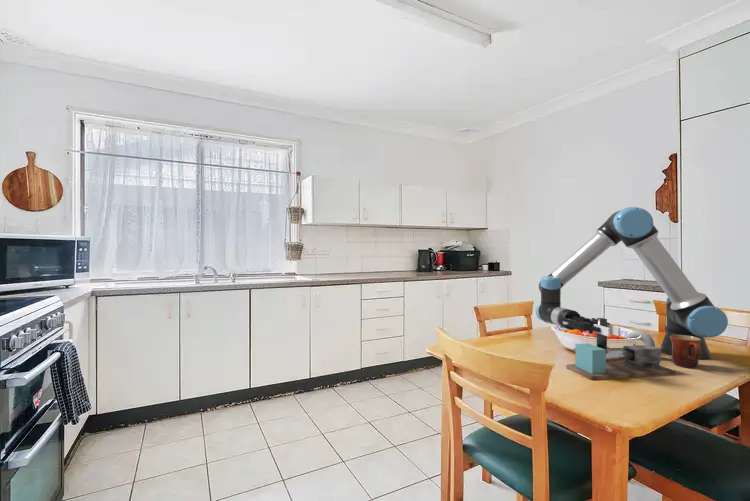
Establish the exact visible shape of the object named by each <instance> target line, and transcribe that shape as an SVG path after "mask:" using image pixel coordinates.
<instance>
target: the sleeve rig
mask: <svg viewBox="0 0 750 501" xmlns="http://www.w3.org/2000/svg"><path fill="white" fill-rule="evenodd" d="M626 350H633V351H634V359H627V360H620V361H610V362H609V361H606V373H598V374H592V373H589V372H587V371H585V370H583V369H581V368H578V367H576V366H575V363H573V364H566V365H565V366H566V367H565V368H566V369H567V370H570V371H572V372H574V373H576V374H578V375H580V376H583V377H584V378H586V379H588V380H590V379H591V381H596V380H597V379H598V380H612V379H613V378H614V379H626V378H628V379H629V378H642V377H643V378H644V377H654V376H655V377H657V376H673V375H676V374H677V373H676V370H674V369H672V368H671V369H670V368H668V367H665V366H663V365H660V363H661V361H662V360H661V359H662V358H661V353H662V351H661V347H657V346H655V347H654V346H650V345H644V344H638V345H636V346H625V345H624V346H623V351H626ZM611 378H612V379H611Z"/></svg>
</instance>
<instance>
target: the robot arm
mask: <svg viewBox="0 0 750 501" xmlns="http://www.w3.org/2000/svg"><path fill="white" fill-rule="evenodd" d="M658 235H659V230H658V229H657V228H656V226H655V225H654V218H653V216H652V214H651V213H650V212H649V211H648V210H646V209H644V208H641V207H638V206H637V207H636V206H635V207H634V206H632V207H631V206H630V207H629V206H628V207H625V208H622V209H620V210H617V211H615V212H613V213H612V214H611V215H610V216H609V217H608V218H607V219H606V220H605V222H604V223H602V225H600V227H598V228H597V229H596V230H595V234H594V235H593V236H592V237H590V238H589V239H588V240H587V241H586V242H585V243H584V244H582V245H581V246H580V247H579V248H578V249H577V250H576V251H575V252H574V253H572V254H571V255H570V256H569V257H568V258H567V259H566V260H564V261H563V262H562V263H561V264H559V265H558V266H557V267H556V268H555V269H554V270H552V271H551V273H550V274H548V275H547V276H546V275H544V276H542V277H541V278H540V281H539V283H538V290H539V291H540V292H539V293H540V303H539V305H537V307H536V309H535V315H536V317H537V319H539V320H540V321H543V322H544V323H547V324H552V325H554V326H558V327H559V328H560V329H563V328H564V329H567V330H570V331H574V330H579V331H583V332H587V331H588V334H589V335H592V334H594V333H596V334H597V333H599V334H602V335H605V336H607V337H611V335H614V336H617V337H621V327H618V326H615V325H611V323H609V322H607V327H604V326H601V325H597V318H595V317H591V318H587V317H585V316H582V315H581V314H580V313H579V312H578V311H576V310H572V309H569V308H565V307H561V306H562V305H561V303H562V302H561V296H562V294H561V293H562V292H561V290H562V288H563V287H564V286H565V285H566V284H567V283H569V282H570V281H571V280H572V279H574V278H575V277H576V276H577V275H578V274H579V273H581V272H582V271H583V270H584V269H586V268H587V267H588V266H589V265H590V264H591V263H593V262H594V261H595V260H596V259H598V257H599V256H601V255H603V253H605V251H606V250H608V249H609V248H611V247H615V246H616V245H618V244H620V242H622V243H623V244H624V245H625V247H626V248H629V249H633V250H634V252H635V254H636V255H637V256H638V258H640V261H641V262H642V263H643V265H644V266H645V268H647V270H648V271H649V273H650V274H651V275H652V277H653V278H654V279H655V281H656V282H657V283H658V285H659V286H660V288H661V289H662V291H663V292H664V293H665V294H666V296H667V298H666V303H665V307H666V308H665V310H666V312H665V313H666V314H665V316H666V318H665V320H666V322H665V323H666V324H665V326H666V328H665V330H666V331H665V335H664V336H663V337H664V338H663V340H662V343H661V344H660V348H661V353H664V354H667V355H670V356H672V341H671V338H670V335H687V336H693V337H697V338H700V339H701V342H700V344H699V345H700V346H701V356H700V358H699V360H705V359H709V358H710V357H711V352H710V350H709V347H708V345H707V344H708V343H707V342H706V339H707V338H710V339H711V338H714V337H718V336H719V335H722V334H723V333H724V332H725V331H726V329H727V327H728V326H729V325H728V324H729V320H728V316H727V315H726V313H725V312H724V311H723V310H722V309H720V308H719V307H716V306H715V305H714V304H713V303H712V301H711V300H710V298H709V297H708V296H707V295H706V293H704V292H703V293H701V292H699V291H698V290H697V289H696V288H695V287H694V285H693V284H692V283H691V281H690V280H689V278H688V277H687V275H685V272H684V271H682V269H681V268H680V266H679V265H678V264H677V262H676V261H675V260H674V258H673V257H672V256H671V254H670V252H668V250H667V249H666V248H665V246H664V245H663V243H662V242H661V241H660V239H659V238H658ZM705 338H706V339H705Z"/></svg>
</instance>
